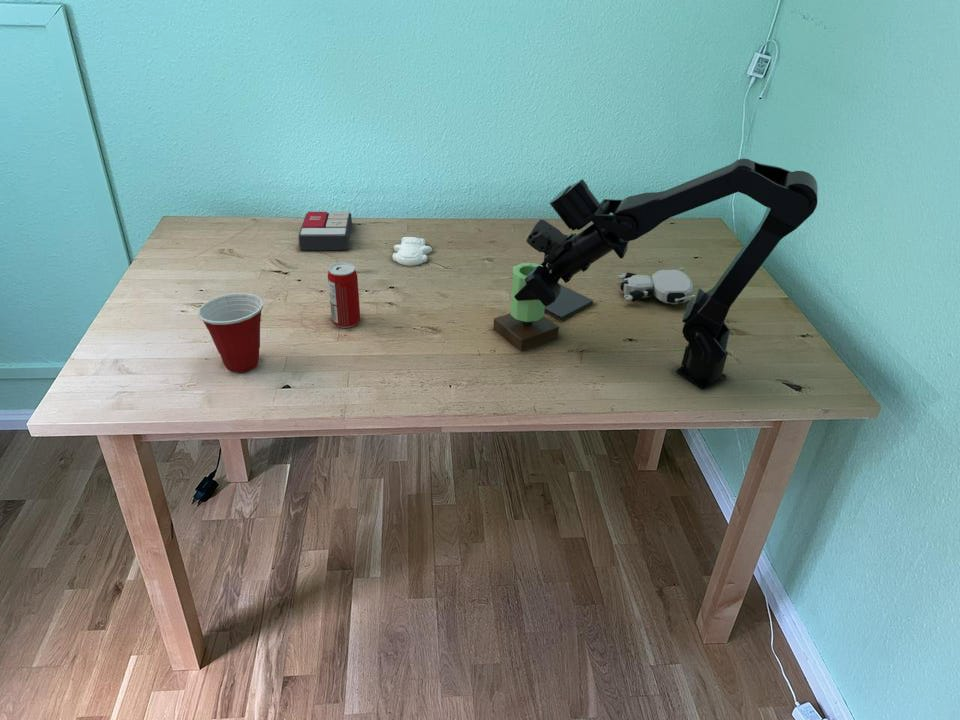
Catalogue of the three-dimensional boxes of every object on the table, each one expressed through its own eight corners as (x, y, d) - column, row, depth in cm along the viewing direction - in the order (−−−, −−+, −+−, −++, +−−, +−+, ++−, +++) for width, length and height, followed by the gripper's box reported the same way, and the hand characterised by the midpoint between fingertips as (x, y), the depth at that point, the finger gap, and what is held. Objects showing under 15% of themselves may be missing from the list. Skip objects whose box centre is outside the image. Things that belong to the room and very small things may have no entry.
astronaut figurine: (435, 244, 168) (435, 233, 167) (424, 267, 159) (423, 255, 157) (399, 241, 169) (399, 229, 168) (386, 263, 160) (385, 251, 158)
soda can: (366, 320, 140) (362, 265, 133) (347, 332, 136) (342, 276, 129) (345, 311, 142) (341, 257, 135) (326, 322, 138) (320, 268, 131)
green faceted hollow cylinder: (516, 301, 139) (519, 260, 133) (548, 308, 137) (553, 267, 131) (504, 317, 134) (507, 274, 128) (538, 324, 132) (542, 282, 127)
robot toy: (622, 312, 147) (695, 312, 146) (624, 293, 144) (698, 292, 144) (615, 284, 157) (684, 283, 156) (617, 266, 155) (687, 265, 154)
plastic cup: (248, 339, 133) (238, 283, 126) (285, 361, 127) (276, 304, 120) (197, 364, 126) (183, 306, 119) (233, 389, 120) (221, 329, 113)
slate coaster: (592, 304, 148) (593, 300, 147) (561, 321, 142) (561, 316, 141) (556, 286, 154) (557, 282, 153) (525, 301, 148) (525, 297, 147)
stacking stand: (558, 337, 137) (561, 306, 133) (521, 351, 133) (523, 319, 129) (529, 316, 143) (532, 286, 139) (493, 329, 139) (494, 298, 135)
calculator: (351, 209, 174) (346, 232, 162) (352, 226, 177) (347, 250, 164) (305, 209, 173) (297, 233, 161) (307, 226, 176) (299, 250, 163)
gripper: (572, 193, 129) (511, 237, 138) (541, 232, 115) (476, 278, 124) (608, 240, 131) (546, 281, 141) (582, 285, 117) (515, 326, 126)
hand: (521, 290), depth 133 cm, fingers closed on green faceted hollow cylinder, 6 cm apart
